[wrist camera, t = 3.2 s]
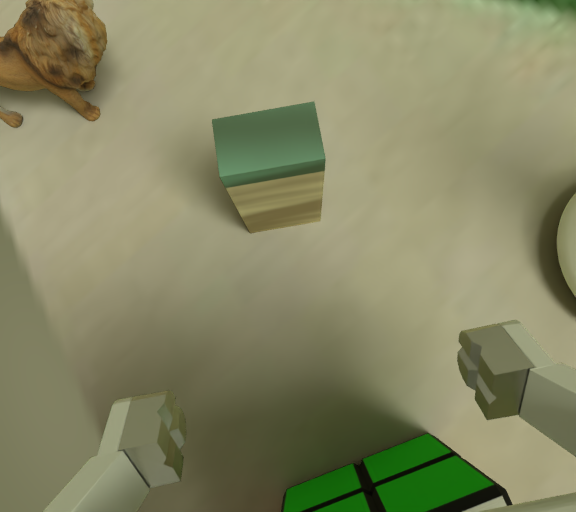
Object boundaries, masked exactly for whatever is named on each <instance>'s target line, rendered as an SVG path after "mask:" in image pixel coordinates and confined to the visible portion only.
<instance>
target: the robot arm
mask: <svg viewBox="0 0 576 512" xmlns="http://www.w3.org/2000/svg"><path fill="white" fill-rule="evenodd" d="M459 343H460V344H461V346H462V348H461V349H460V350H459V351H458V356H457V362H458V366H459V371H460V373H461V376H462V378H463V380H464V382H465V383H466V385H467V386H468V387H470V388H472V389H473V390H475V391H476V392H475V401H476V402H477V404H478V406H479V407H480V409H481V411H482V413H483V414H484V416H485V418H486V419H487V420H491V419H497V418H503V417H509V416H515V415H519V417H521V418H522V419H523V420H525V421H526V422H528V423H529V424H530V425H532V426H533V427H535V428H536V429H537V430H539V431H540V432H542V433H543V434H544V435H546V436H547V437H549V438H550V439H551V440H553V441H554V442H556V443H557V444H558V445H560V446H561V447H563V448H564V449H565V450H567V451H568V452H570V453H571V454H572V455H574V456H575V457H576V369H574V368H572V367H570V366H567V365H565V364H563V363H558V364H556V363H555V362H554V361H553V360H552V358H551V357H550V356H549V355H548V354H547V353H546V351H545V350H544V349H543V348H542V347H541V346H540V345H539V343H538V342H537V341H536V340H535V339H534V338H533V336H532V335H531V334H530V333H529V332H528V331H527V330H526V328H525V327H524V326H523V325H522V324H521V323H520V322H519V321H517V320H512V321H507V322H502V323H498V324H492V325H487V326H482V327H478V328H473V329H468V330H464V331H461V332H460V334H459ZM175 399H176V398H175V396H174V394H173V392H172V391H171V390H169V391H162V392H157V393H151V394H145V395H139V396H134V397H129V398H124V399H118V400H116V401H115V402H114V404H113V405H112V407H111V411H110V414H109V417H108V420H107V424H106V427H105V430H104V433H103V437H102V440H101V443H100V446H99V450H98V453H97V456H93V457H91V458H90V459H89V460H88V461H87V462H86V463H85V464H84V466H83V467H82V468H81V469H80V470H79V471H78V472H77V473H76V475H75V476H74V477H73V478H72V479H71V480H70V481H69V482H68V484H67V485H66V486H65V487H64V488H63V489H62V490H61V492H60V493H59V494H58V495H57V496H56V497H55V498H54V499H53V500H52V502H51V503H50V504H49V505H48V506H47V507H46V508H45V509H44V511H43V512H137V511H138V509H139V508H140V506H141V504H142V503H143V501H144V499H145V498H146V496H147V495H148V493H149V491H150V489H149V488H153V487H157V486H162V485H166V484H170V483H175V482H179V481H181V475H182V467H183V458H184V457H183V455H182V453H181V452H180V449H181V447H182V446H183V444H184V443H185V441H186V421H185V417H184V413H183V411H182V409H181V408H180V407H178V406H176V405H175ZM479 512H576V492H575V493H570V494H565V495H560V496H555V497H550V498H545V499H540V500H535V501H530V502H524V503H519V504H514V505H509V506H504V507H499V508H494V509H489V510H484V511H479Z"/></svg>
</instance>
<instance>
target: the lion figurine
mask: <svg viewBox="0 0 576 512" xmlns="http://www.w3.org/2000/svg"><path fill="white" fill-rule="evenodd" d="M93 6H94V4H93V1H92V0H28V1H27V2H26V7H27V8H26V9H25V10H24V11H23V12H22V14H21V15H20V18H19V20H18V22H17V23H16V24H15V25H14V27H13V28H11V29H10V30H8V32H7V33H6V35H5V37H0V86H3V87H6V88H10V89H13V90H21V91H34V90H40V89H45V88H47V89H48V90H49V91H51V92H52V93H54V94H55V95H57V96H58V97H60V98H61V99H63V100H64V101H65V102H67V103H68V104H70V105H71V106H72V107H73V108H74V109H75V110H77V111H78V112H79V113H80V114H81V115H82V116H83V117H85V118H86V119H87V120H89V121H95V120H96V119H98V118H99V116H100V109H99V107H97V106H92V105H91V104H90V103H89V102H87V101H84V100H83V99H82V97H81V96H80V94H79V93H78V91H77V90H79V91H90V90H92V89H93V88H94V85H95V81H94V80H93V79H94V77H95V76H96V72H95V71H96V66H97V64H98V63H99V61H100V60H101V58H102V55H103V51H105V50H106V44H107V33H106V28H105V24H104V23H103V22H102V21H101V20H100V19H99V18H98V17H97V16H96V14H95V13H94V12H93V11H92V10H93ZM76 89H77V90H76ZM0 118H1V119H2V120H3V121H5V122H6V123H7V124H8V125H10V126H11V127H18V126H20V125H21V124H22V119H23V118H22V116H21V115H20V114H19V113H17V112H13V111H8V110H6V109H4V108H2V107H1V106H0Z"/></svg>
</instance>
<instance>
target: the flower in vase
mask: <svg viewBox="0 0 576 512" xmlns="http://www.w3.org/2000/svg"><path fill="white" fill-rule="evenodd" d="M557 252H558V258H559V263H560V267H561V270H562V273H563V276H564V278H565V280H566V282H567V284H568V286H569V288H570V289H571V291H572V293H573V294H574V296H575V297H576V193H575V194H574V195H573V197H572V198H571V199H570V201H569V202H568V204H567V205H566V207H565V209H564V211H563V214H562V216H561V219H560V223H559V226H558V233H557Z"/></svg>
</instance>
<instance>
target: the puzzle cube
mask: <svg viewBox="0 0 576 512" xmlns="http://www.w3.org/2000/svg"><path fill="white" fill-rule="evenodd" d="M509 505H513V504H512V502H511V500H510V498H509V496H508V493H507V491H506V489H504V488H503V487H502V486H500V485H499V484H497V483H496V482H495V481H493V480H492V479H491V478H489V477H488V476H487V475H485V474H484V473H483V472H481V471H480V470H478V469H477V468H476V467H474V466H473V465H472V464H470V463H469V462H468V461H466V460H465V459H463V458H461V456H460V455H459V454H457V453H456V452H455V451H453V450H452V449H451V448H449V447H448V446H447V445H445V444H444V443H443V442H441V441H440V440H439V439H438V438H436V437H435V436H433V435H431V434H425V435H422V436H420V437H417V438H415V439H412V440H410V441H407V442H405V443H402V444H400V445H397V446H395V447H392V448H389V449H387V450H384V451H382V452H379V453H377V454H374V455H372V456H369V457H367V458H364V459H362V462H361V464H360V466H358V465H356V464H354V463H352V464H350V465H347V466H344V467H342V468H339V469H337V470H334V471H332V472H329V473H327V474H324V475H322V476H319V477H316V478H314V479H311V480H309V481H306V482H304V483H301V484H299V485H296V486H294V487H291V488H289V489H287V490H286V492H285V495H284V497H283V503H282V509H281V512H479V511H484V510H489V509H494V508H499V507H504V506H509Z"/></svg>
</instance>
